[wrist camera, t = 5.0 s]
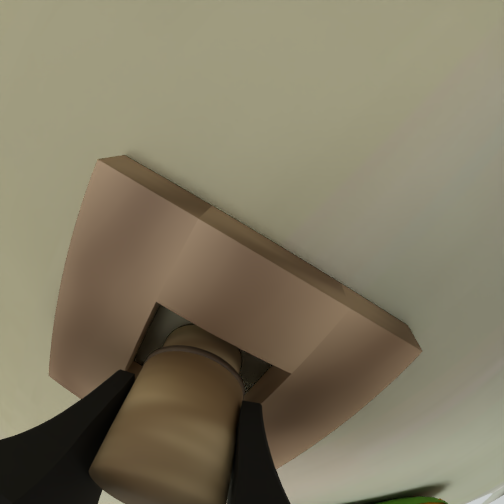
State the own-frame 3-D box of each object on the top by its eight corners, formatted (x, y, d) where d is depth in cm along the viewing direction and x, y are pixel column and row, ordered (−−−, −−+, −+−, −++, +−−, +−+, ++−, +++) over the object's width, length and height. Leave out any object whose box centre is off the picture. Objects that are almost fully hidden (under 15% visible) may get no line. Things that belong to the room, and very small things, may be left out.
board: (407, 325, 11) (422, 351, 9) (259, 457, 15) (256, 480, 14) (124, 155, 10) (97, 159, 8) (64, 356, 14) (48, 375, 12)
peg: (253, 325, 12) (226, 492, 5) (245, 394, 13) (224, 530, 6) (153, 310, 12) (67, 446, 5) (162, 380, 13) (109, 501, 7)
